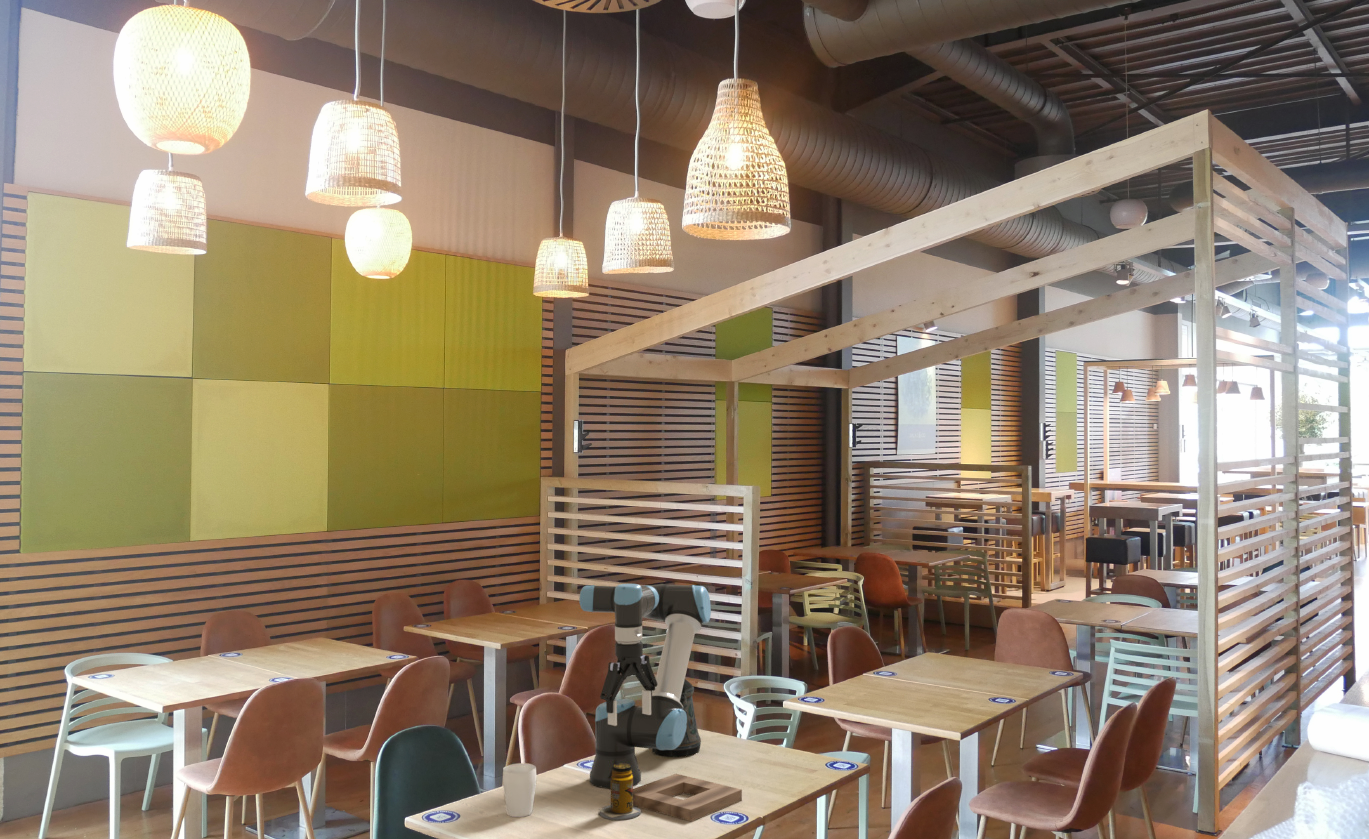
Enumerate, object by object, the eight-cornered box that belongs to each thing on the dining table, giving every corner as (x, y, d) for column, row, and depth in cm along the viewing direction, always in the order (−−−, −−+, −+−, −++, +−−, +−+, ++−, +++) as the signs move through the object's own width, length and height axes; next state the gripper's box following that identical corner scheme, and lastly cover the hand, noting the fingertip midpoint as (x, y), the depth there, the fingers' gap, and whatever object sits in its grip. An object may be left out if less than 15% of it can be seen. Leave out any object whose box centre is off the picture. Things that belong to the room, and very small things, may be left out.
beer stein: (680, 741, 347) (679, 666, 348) (717, 753, 332) (716, 675, 333) (640, 749, 337) (640, 672, 338) (676, 762, 321) (676, 682, 323)
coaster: (590, 814, 273) (590, 811, 273) (619, 803, 282) (619, 801, 282) (620, 822, 266) (620, 820, 266) (649, 812, 275) (649, 809, 275)
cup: (521, 805, 281) (521, 761, 281) (543, 812, 275) (543, 766, 276) (495, 814, 274) (495, 768, 275) (518, 821, 268) (518, 774, 269)
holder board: (624, 802, 283) (624, 791, 283) (676, 783, 299) (676, 773, 300) (691, 821, 267) (691, 809, 267) (741, 800, 284) (741, 789, 284)
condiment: (639, 812, 273) (639, 766, 274) (611, 818, 268) (611, 771, 269) (625, 804, 279) (625, 760, 280) (598, 810, 274) (598, 765, 275)
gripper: (606, 650, 268) (607, 731, 268) (669, 635, 287) (670, 711, 287) (586, 646, 273) (587, 726, 273) (649, 632, 292) (650, 707, 292)
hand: (629, 719), depth 280 cm, fingers open, 13 cm apart
